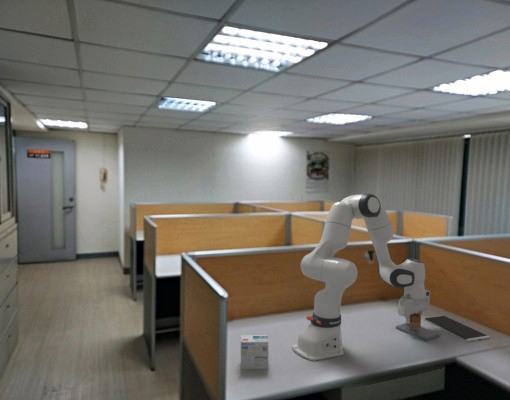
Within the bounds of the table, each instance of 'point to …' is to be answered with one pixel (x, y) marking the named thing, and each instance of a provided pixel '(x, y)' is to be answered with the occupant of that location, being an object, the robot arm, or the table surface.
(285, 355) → the table surface
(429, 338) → the post stand
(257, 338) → the light bulb box
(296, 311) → the table surface
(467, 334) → the smartphone
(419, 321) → the ring
